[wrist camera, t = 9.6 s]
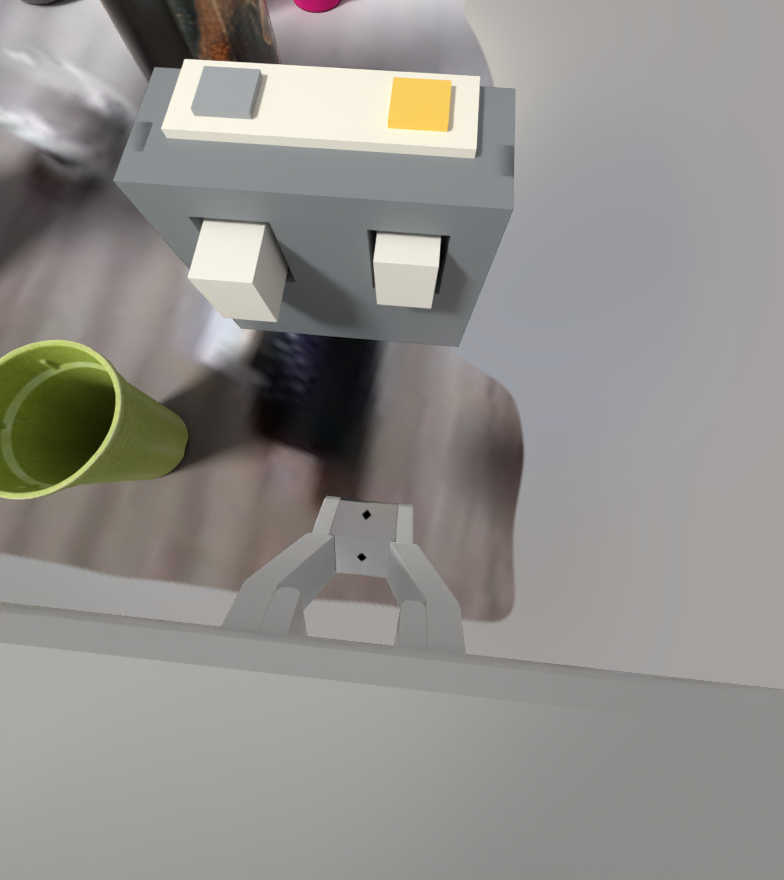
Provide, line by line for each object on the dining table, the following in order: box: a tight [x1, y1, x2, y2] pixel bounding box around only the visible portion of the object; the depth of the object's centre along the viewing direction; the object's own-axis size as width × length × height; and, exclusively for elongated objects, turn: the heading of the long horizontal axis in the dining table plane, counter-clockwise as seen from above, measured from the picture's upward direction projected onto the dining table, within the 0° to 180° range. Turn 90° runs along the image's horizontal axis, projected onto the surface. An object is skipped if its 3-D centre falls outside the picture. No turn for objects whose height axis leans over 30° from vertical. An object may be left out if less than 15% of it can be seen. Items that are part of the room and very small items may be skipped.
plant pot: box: [0, 340, 188, 499], centre depth 22 cm, size 9×9×9 cm
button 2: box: [373, 230, 441, 309], centre depth 19 cm, size 5×4×4 cm
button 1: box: [188, 218, 288, 322], centre depth 19 cm, size 5×4×4 cm
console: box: [113, 59, 515, 347], centre depth 22 cm, size 8×20×14 cm, turn 84°
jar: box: [100, 0, 282, 84], centre depth 25 cm, size 12×12×15 cm
